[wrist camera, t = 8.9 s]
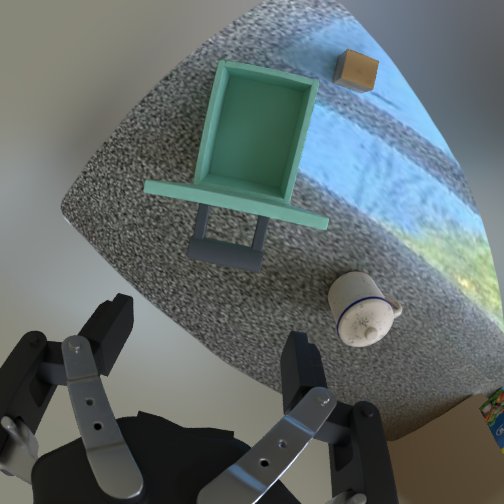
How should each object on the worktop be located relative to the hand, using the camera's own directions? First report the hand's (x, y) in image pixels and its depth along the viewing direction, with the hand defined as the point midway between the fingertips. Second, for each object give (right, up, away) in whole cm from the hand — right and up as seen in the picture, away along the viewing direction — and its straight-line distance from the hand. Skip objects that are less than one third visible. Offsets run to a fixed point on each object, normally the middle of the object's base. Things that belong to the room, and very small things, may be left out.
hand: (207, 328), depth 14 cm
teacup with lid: (+21, -3, +33) cm, 39 cm away
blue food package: (+94, -52, +54) cm, 121 cm away
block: (+16, +29, +19) cm, 38 cm away
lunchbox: (+3, +20, +23) cm, 31 cm away
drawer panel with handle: (+1, +9, +11) cm, 14 cm away
